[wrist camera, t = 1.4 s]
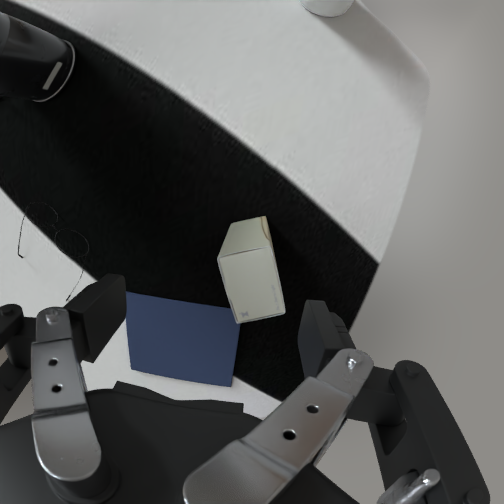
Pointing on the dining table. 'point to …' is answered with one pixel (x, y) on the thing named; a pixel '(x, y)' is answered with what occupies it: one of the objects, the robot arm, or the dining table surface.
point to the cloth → (181, 339)
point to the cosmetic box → (251, 271)
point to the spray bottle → (327, 7)
